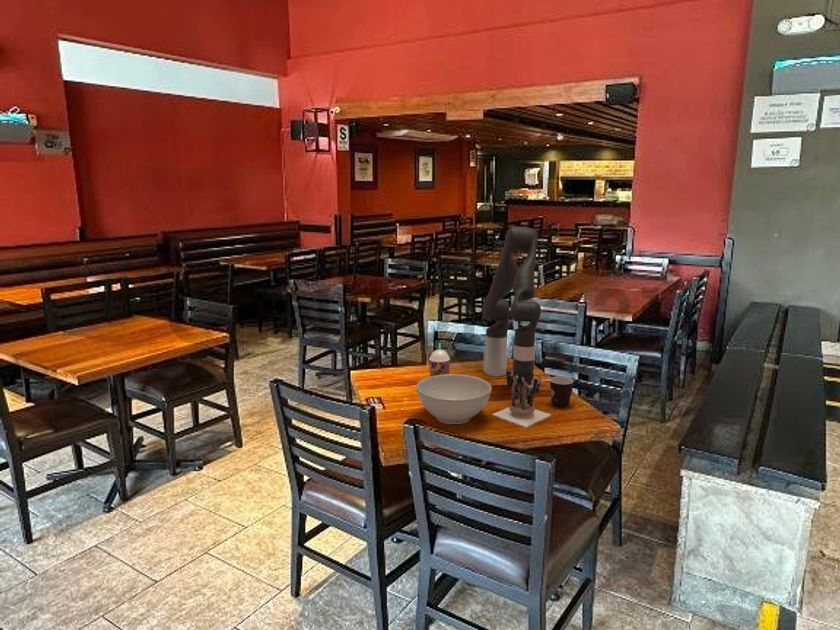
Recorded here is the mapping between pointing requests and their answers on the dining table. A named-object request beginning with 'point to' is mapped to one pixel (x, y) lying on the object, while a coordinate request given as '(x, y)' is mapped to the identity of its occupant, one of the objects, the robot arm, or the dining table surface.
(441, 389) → the decorative bowl
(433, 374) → the smoothie
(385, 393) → the dining table surface
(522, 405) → the stool
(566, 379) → the coffee mug
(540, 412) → the mat
